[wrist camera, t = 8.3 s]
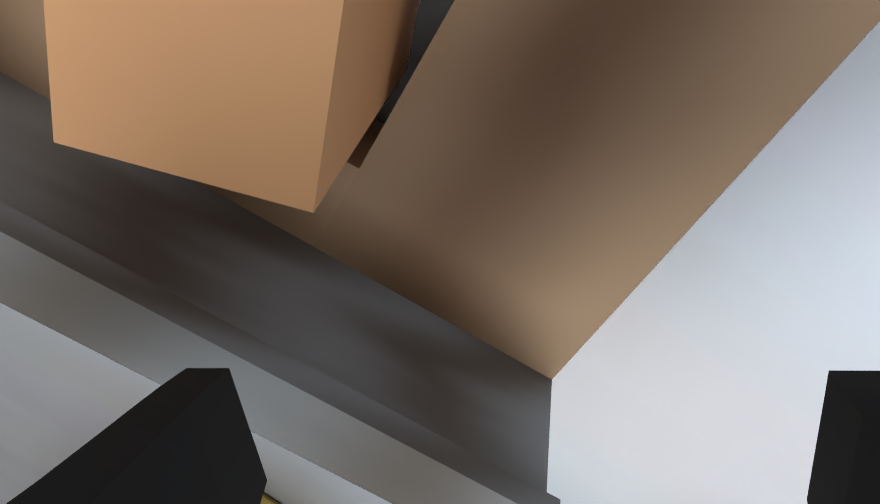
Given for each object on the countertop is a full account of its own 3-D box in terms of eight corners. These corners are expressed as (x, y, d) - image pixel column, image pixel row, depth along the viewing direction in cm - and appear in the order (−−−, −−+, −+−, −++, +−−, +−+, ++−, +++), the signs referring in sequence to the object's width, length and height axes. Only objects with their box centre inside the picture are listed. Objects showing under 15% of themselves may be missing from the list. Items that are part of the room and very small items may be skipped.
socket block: (846, -23, 15) (1028, 100, 9) (533, 341, 20) (514, 566, 14) (-33, -631, 12) (-621, -1041, 6) (-108, -20, 18) (-450, 72, 12)
